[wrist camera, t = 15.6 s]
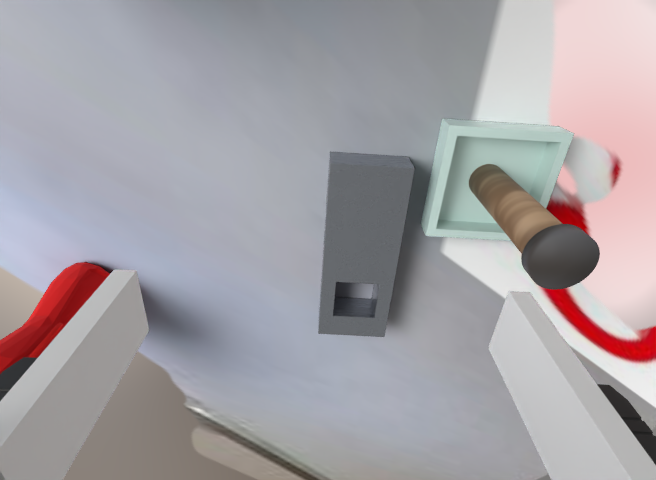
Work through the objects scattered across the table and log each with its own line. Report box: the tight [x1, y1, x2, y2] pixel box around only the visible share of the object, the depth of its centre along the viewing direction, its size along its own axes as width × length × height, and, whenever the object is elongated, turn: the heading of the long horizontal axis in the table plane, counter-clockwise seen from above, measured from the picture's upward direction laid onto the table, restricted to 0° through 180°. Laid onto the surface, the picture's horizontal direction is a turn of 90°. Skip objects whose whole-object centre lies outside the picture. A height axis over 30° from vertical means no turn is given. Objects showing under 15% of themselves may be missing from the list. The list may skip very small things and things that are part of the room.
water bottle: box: [0, 262, 110, 374], centre depth 43 cm, size 9×11×25 cm
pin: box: [469, 164, 600, 289], centre depth 38 cm, size 5×5×18 cm
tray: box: [421, 119, 574, 241], centre depth 45 cm, size 13×13×3 cm
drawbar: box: [318, 152, 415, 337], centre depth 49 cm, size 24×9×4 cm, turn 176°
